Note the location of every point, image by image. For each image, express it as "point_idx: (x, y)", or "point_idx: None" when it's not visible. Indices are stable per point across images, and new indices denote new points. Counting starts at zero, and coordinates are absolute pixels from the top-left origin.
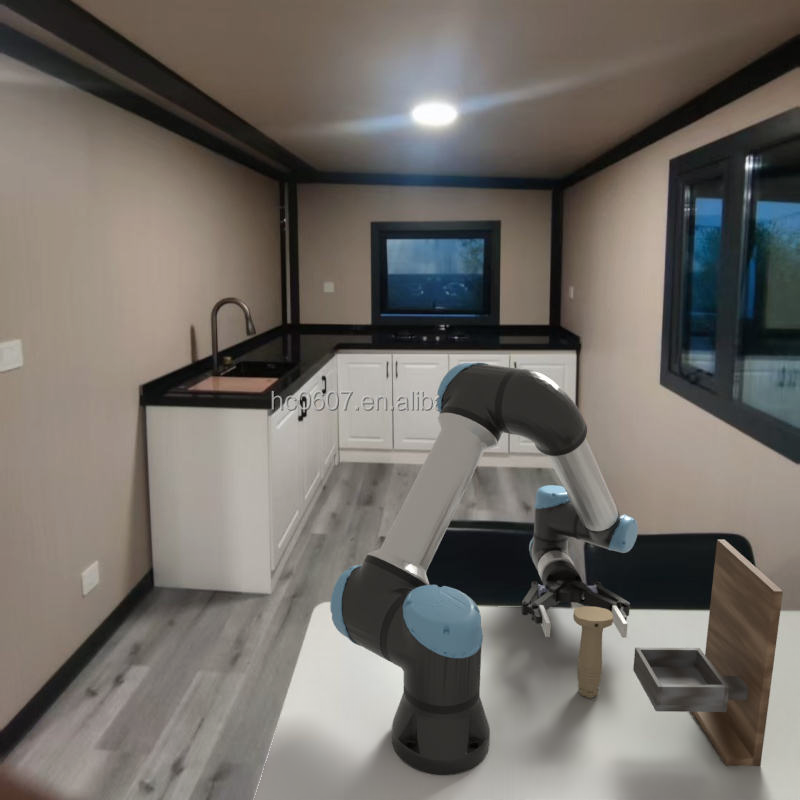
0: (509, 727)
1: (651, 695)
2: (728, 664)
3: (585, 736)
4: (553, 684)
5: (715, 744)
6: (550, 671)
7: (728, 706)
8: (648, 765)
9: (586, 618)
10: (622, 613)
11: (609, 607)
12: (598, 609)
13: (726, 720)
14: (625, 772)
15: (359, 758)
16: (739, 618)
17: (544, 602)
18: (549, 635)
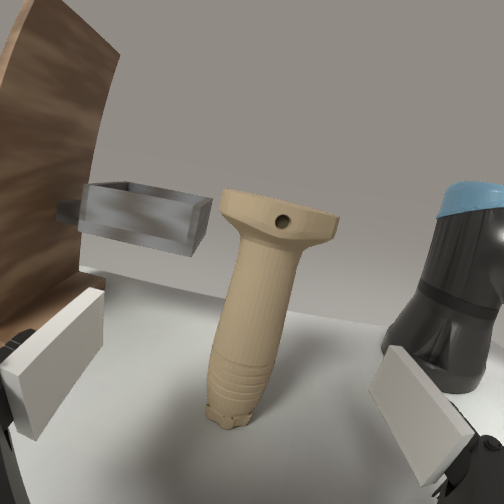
0: (368, 372)
1: (205, 227)
2: (38, 207)
3: None
4: (304, 448)
5: None
6: (310, 491)
7: (42, 271)
8: (194, 309)
9: (303, 206)
10: (15, 349)
11: (4, 437)
12: (260, 198)
13: (43, 294)
14: None
15: None
16: (64, 111)
17: (465, 494)
18: (372, 386)
